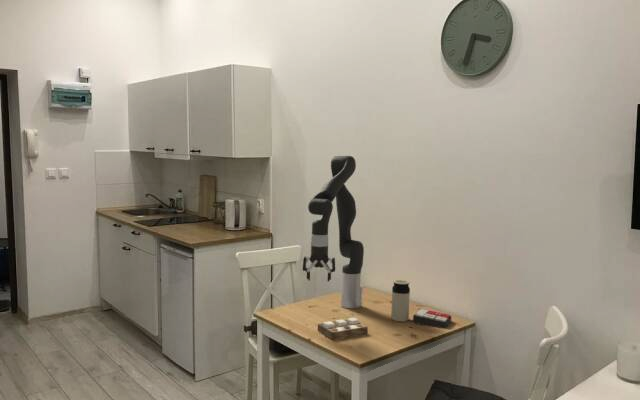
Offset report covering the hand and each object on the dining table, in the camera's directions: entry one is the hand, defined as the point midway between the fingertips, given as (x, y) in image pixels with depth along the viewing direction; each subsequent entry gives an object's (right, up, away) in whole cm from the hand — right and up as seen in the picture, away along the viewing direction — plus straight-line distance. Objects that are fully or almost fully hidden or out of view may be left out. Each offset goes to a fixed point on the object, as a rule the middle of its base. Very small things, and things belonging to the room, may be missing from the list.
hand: (318, 280), depth 236 cm
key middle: (+10, -19, -6) cm, 22 cm away
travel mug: (+38, -20, +12) cm, 44 cm away
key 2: (+15, -19, -3) cm, 24 cm away
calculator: (+52, -21, +10) cm, 57 cm away
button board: (+10, -21, -7) cm, 24 cm away
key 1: (+4, -19, -9) cm, 22 cm away
